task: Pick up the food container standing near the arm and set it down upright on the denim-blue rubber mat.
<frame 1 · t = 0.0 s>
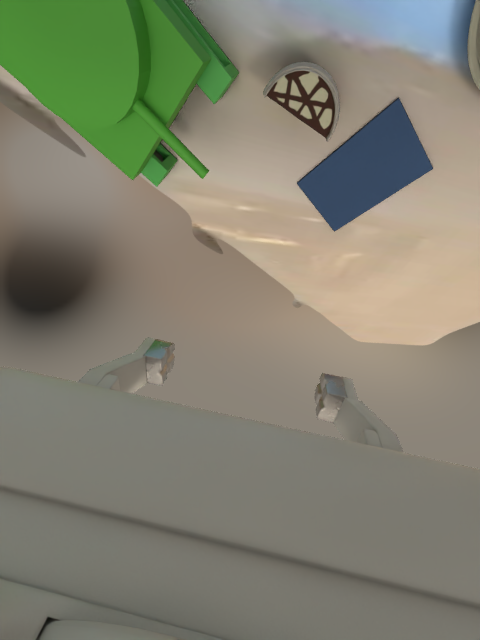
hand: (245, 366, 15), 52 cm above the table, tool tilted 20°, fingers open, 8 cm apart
mat: (360, 175, 53), on the table
tank: (144, 72, 48), on the table
food container: (310, 84, 45), on the table
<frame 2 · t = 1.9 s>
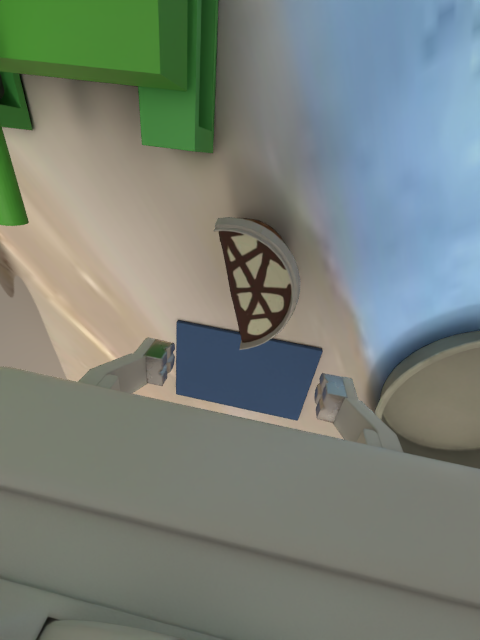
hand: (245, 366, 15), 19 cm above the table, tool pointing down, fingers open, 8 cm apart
cake pan: (464, 394, 37), on the table
mat: (242, 372, 41), on the table
food container: (270, 256, 32), on the table
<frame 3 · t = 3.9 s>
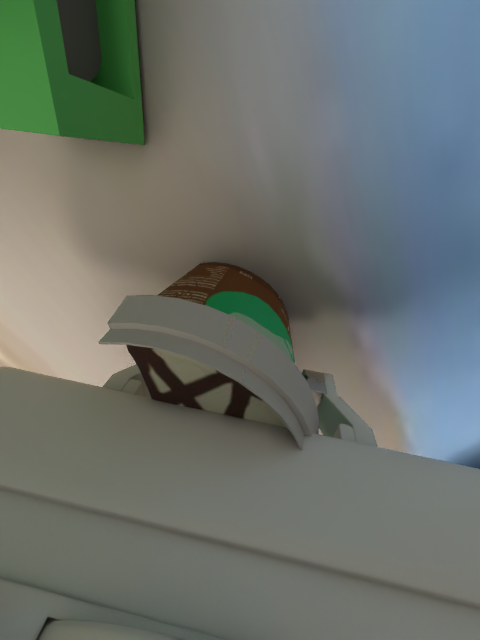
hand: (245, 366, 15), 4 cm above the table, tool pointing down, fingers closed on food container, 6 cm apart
food container: (260, 322, 19), on the table, touching gripper
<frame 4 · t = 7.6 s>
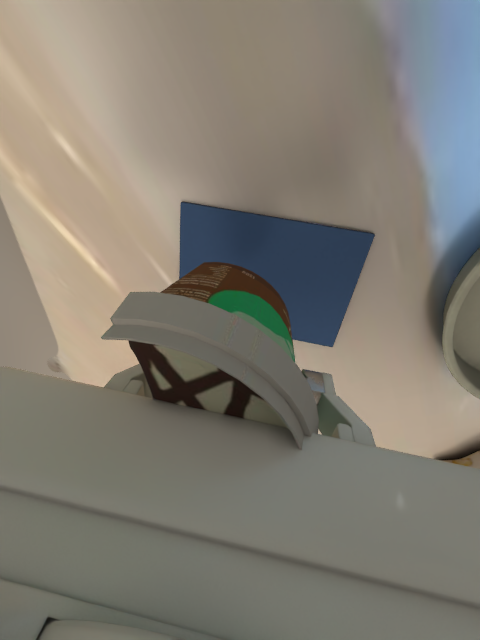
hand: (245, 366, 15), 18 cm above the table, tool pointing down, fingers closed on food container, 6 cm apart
mug: (468, 457, 41), on the table
mat: (263, 279, 32), on the table
food container: (262, 322, 19), point 14 cm above the table, touching gripper
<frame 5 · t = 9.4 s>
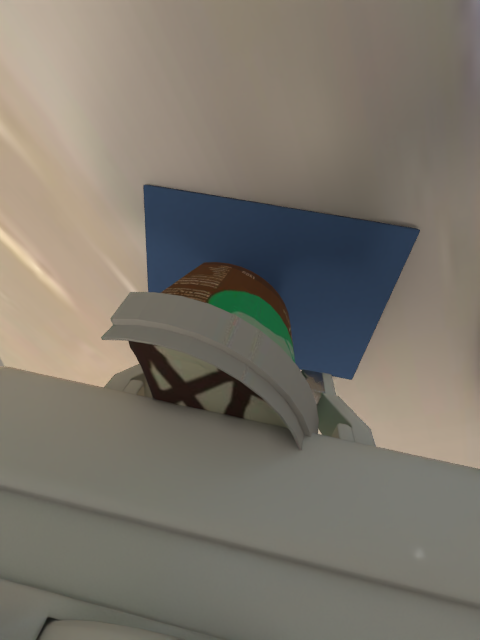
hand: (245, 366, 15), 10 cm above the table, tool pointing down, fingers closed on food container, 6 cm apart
mat: (261, 291, 24), on the table
food container: (262, 323, 19), point 6 cm above the table, touching gripper
when the fingers open (5 cm above the table, at t = 11.2 s): food container stays where it is, resting on mat.
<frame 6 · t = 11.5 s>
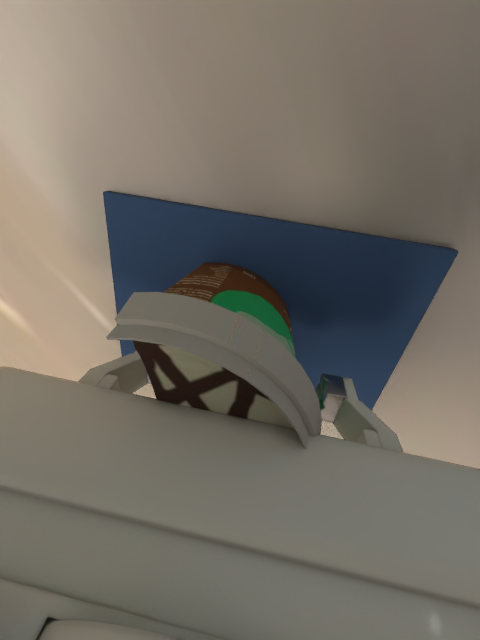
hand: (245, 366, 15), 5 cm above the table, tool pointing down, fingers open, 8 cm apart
mat: (254, 321, 19), on the table
food container: (262, 323, 19), resting on mat
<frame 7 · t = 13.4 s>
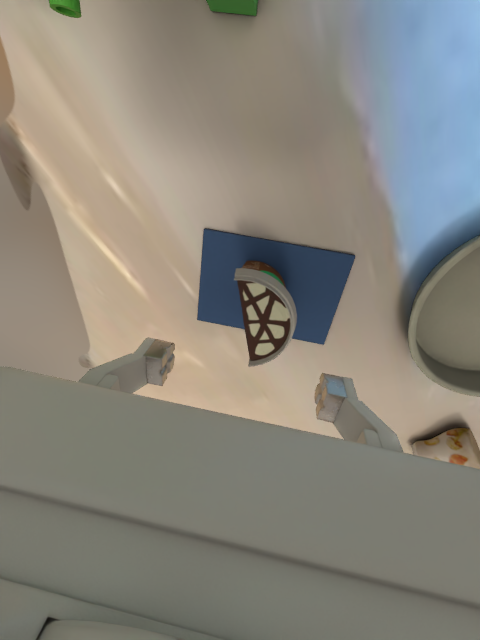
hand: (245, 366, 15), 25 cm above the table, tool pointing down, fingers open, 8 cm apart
mug: (438, 438, 49), on the table
mat: (268, 289, 39), on the table
food container: (272, 289, 39), resting on mat
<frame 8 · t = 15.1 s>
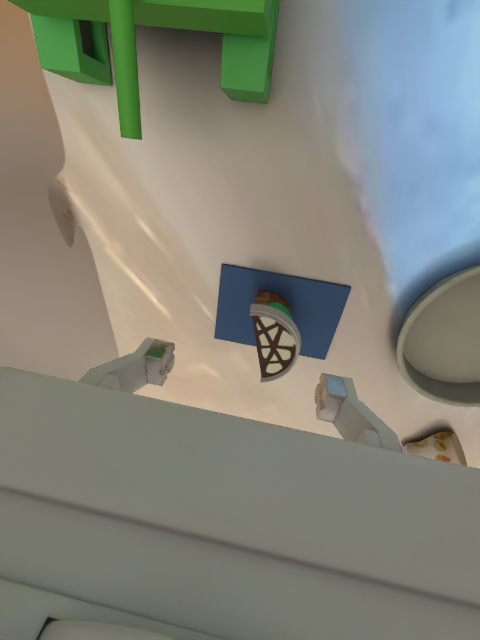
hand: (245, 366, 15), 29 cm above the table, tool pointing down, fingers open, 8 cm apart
cake pan: (475, 327, 42), on the table
mug: (427, 440, 55), on the table
mat: (276, 313, 46), on the table
food container: (280, 314, 45), resting on mat
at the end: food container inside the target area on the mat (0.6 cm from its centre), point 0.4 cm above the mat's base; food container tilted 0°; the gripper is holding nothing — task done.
